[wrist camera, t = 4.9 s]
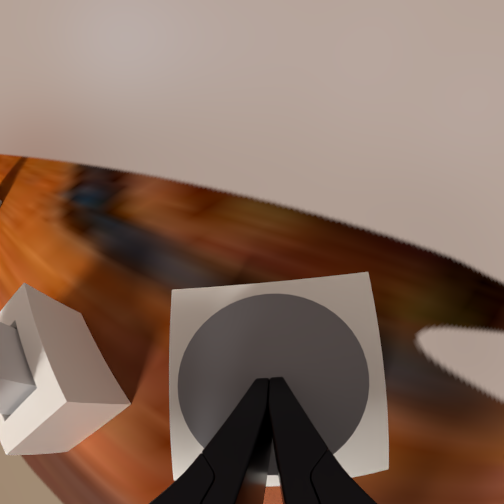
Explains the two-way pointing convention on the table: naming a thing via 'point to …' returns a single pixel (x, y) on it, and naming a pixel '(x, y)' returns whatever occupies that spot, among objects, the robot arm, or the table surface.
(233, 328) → the plug
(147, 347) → the table surface
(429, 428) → the table surface
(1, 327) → the red plug
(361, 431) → the socket
